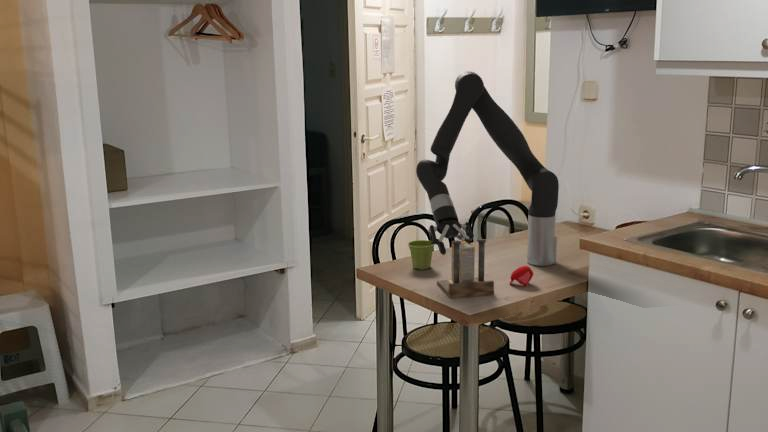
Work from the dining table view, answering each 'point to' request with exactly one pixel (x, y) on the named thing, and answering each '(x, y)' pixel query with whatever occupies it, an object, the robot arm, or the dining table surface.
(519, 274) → the cap
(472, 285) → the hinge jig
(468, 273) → the supplement box
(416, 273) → the dining table surface
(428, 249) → the plant pot
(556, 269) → the dining table surface
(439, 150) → the robot arm
